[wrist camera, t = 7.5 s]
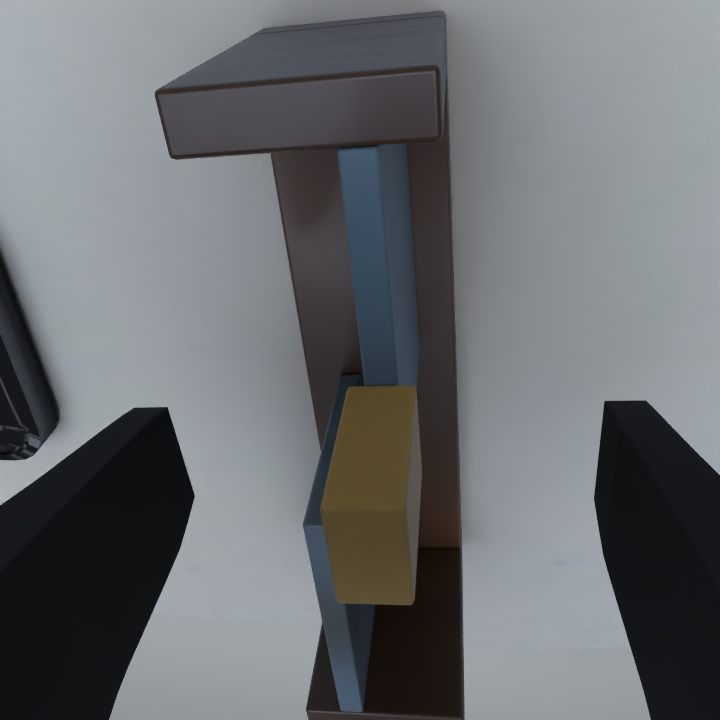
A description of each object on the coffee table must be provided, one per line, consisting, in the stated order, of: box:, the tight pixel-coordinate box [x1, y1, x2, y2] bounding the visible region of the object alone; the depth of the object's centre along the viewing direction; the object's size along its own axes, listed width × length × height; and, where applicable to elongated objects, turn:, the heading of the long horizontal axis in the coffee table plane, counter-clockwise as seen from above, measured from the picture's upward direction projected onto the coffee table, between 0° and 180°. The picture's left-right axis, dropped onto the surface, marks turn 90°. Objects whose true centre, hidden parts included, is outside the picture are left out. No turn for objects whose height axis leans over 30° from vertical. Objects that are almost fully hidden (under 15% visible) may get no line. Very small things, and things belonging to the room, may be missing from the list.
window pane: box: [320, 143, 422, 605], centre depth 12 cm, size 7×1×8 cm, turn 6°
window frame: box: [155, 11, 464, 720], centre depth 16 cm, size 16×4×6 cm, turn 6°
